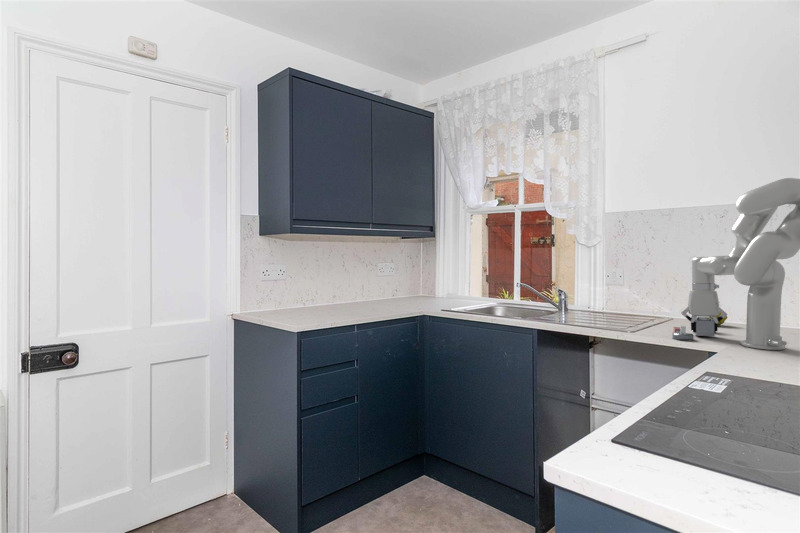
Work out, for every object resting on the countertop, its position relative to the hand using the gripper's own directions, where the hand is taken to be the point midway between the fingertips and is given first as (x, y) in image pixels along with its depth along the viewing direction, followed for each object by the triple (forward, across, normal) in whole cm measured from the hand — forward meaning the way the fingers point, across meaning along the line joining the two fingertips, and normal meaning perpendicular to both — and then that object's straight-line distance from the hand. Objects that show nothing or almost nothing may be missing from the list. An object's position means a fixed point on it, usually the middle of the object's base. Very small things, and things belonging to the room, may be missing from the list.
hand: (704, 332), depth 184 cm
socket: (+1, 0, 0) cm, 1 cm away
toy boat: (+2, +8, +3) cm, 9 cm away
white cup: (+2, 0, -15) cm, 15 cm away
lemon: (+1, -8, -34) cm, 35 cm away
